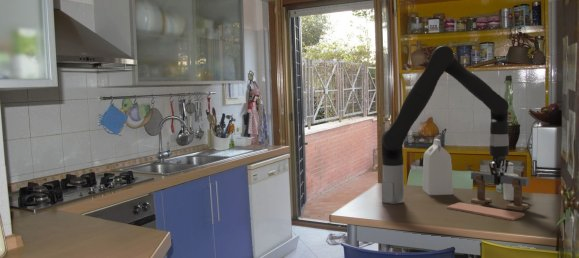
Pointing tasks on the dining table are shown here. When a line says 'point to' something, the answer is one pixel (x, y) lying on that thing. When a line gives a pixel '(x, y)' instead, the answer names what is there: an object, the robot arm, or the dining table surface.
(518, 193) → the stand right
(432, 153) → the milk
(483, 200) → the stand left
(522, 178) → the rail
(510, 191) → the cup
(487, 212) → the mat
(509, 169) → the syrup box
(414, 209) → the dining table surface
